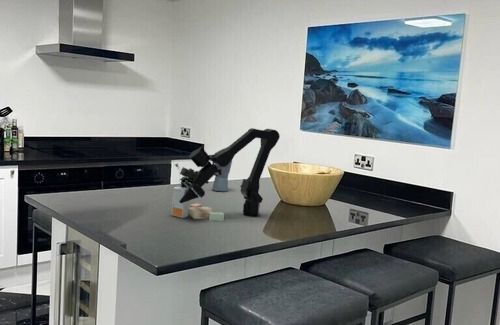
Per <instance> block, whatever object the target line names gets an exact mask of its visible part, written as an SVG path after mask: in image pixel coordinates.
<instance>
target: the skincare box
mask: <svg viewBox="0 0 500 325" xmlns="http://www.w3.org/2000/svg"><path fill="white" fill-rule="evenodd" d="M187 190H188V188H184V187H181V186H175V187H173V188H172V198H171V199H172V200H171V216H174V217H178V218H181V219H184V218H187V217H188V216H189V214H188V212H189V207H190V200H189V201H186V202H184V203H180V202H179V201H180V200H181V198H182V197H183V196H184V195H185V193H186V192H187Z"/></svg>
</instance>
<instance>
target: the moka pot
mask: <svg viewBox="0 0 500 325" xmlns="http://www.w3.org/2000/svg"><path fill="white" fill-rule="evenodd" d="M211 162H212V161H211ZM232 163H233V160H232V161H231V162H230V163H229V164H228V165H227V166H225V167H221V166H219V165H216V164H215V163H214V162H212V163H211V164H215V165H216V166H217V168H220V169H222V170H221V175H218V174H217V173H216V174H215V175H214V181H213V183H212V188H211V190H212V191H215V192H224V193H225V192H228V191H229V190H228V189H229V188H228V187H229V175H230V171H231V167H232V165H233V164H232Z"/></svg>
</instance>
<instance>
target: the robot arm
mask: <svg viewBox="0 0 500 325" xmlns="http://www.w3.org/2000/svg"><path fill="white" fill-rule="evenodd" d="M280 136H281V134H280V133H279V132H278V130H277V129H273V128H272V129H271V128H265V129H264V130H263V129H258V128H252V127H251V128H249V129H248V130H247V131H245V133H243V135H241V136H240V137H238V139H236V140H235V141H234V142H232V143H231V144H230V145H228V146H227V147H225V148H222V149H220V150H218V151H217V152H215V153H214V154H208V153H207V152H206V150H205V148H204V147H202V146H200V147H199V148H197V149H195V150H193V151H192V152H191V153H190V154H189V156H188V158H190V161H191V162H192V163H194V165H196V166H197V168H200V169H199V170H194V169H192V168H186V167H184V166H182V168H181V170H180V172H179V174H180V175H181V176H182V177H181V178H180V179H179V180H180V183H179V184H180V187H184V188H188V190H187V192H186V193H185V195H184V196H183V197H182V198H181V200H180V201H179V202H180V203H184V202H186V201H189V202H190V201H192V200H195V199H198V198H201V199H202V198H203V197H204V196H205V194H206V191H205V190H204V189H203V186H205V184H206V185H208V184H209V183H210V182H209V181H210V180H211V179H212V178H213V177H215V174H216V173H217V174H218V175H221V170H222V169H220V168H217V166H216V165H219V166H221V167H225V166H227V165H228V164H229V163H230V162H231V161H232V162H233V159H234V157H235V156H236V154H238V153H239V152H240V151H241V150H243V149H244V148H245V147H246V146H248V145H249V144H250V143H251V142H253V141H254V140H255V139H260V148H259V151H258V153H257V156H256V157H255V161H254V164H253V167H252V168H251V171H250V174H249V176H248V177H247V179H245V178H243V179H242V182H241V185H239V186H240V193H241V195H242V196H243V199H244V203H243V209H242V213H243V216H250V217H258V216H260V206H261V203H262V202H263V197H262V196H261V195H260V192H259V191H260V180H261V177H262V174H263V172H264V169H265V166H266V164H267V161H268V158H269V156H270V153H271V152H272V150H273V148H275V147H276V145H277V143H278V141H279V140H280ZM211 162H214V164H212V163H211ZM215 164H216V165H215Z"/></svg>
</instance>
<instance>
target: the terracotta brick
mask: <svg viewBox="0 0 500 325" xmlns="http://www.w3.org/2000/svg"><path fill="white" fill-rule="evenodd" d="M189 207H203V206H202V204H201V203H197V202H195V203H193V204H189Z"/></svg>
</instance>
